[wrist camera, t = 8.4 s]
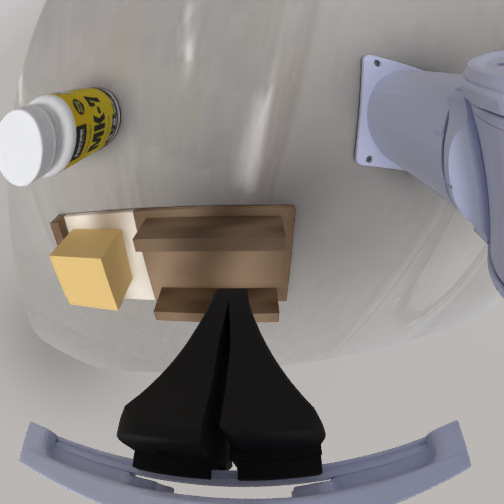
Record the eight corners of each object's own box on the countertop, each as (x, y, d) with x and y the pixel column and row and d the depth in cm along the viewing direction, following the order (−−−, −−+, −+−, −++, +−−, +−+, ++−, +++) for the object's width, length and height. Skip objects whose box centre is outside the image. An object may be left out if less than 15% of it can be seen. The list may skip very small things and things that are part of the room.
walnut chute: (294, 205, 20) (302, 229, 17) (285, 296, 25) (290, 326, 22) (58, 215, 19) (37, 235, 17) (88, 292, 24) (74, 316, 22)
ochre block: (121, 229, 20) (100, 258, 17) (132, 278, 23) (118, 310, 19) (73, 228, 20) (49, 255, 16) (87, 274, 23) (69, 303, 19)
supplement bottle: (124, 145, 17) (56, 191, 10) (73, 152, 17) (0, 199, 10) (121, 80, 14) (42, 90, 7) (67, 93, 14) (-15, 116, 7)
